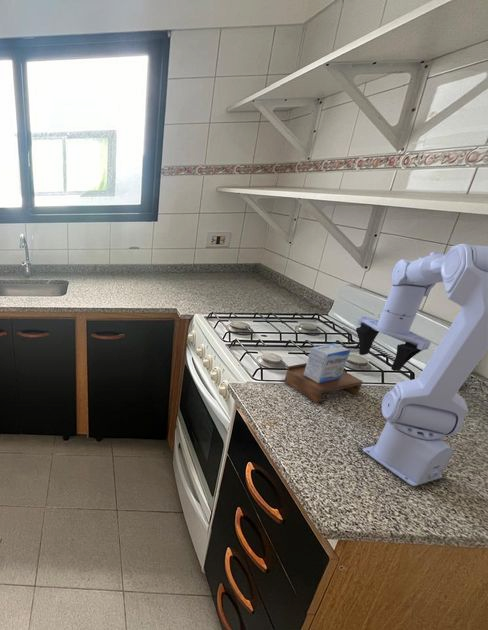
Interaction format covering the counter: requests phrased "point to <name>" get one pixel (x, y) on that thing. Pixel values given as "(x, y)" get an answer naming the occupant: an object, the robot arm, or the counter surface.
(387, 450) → the robot arm
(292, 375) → the wooden display riser
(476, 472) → the counter surface
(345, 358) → the medicine box
